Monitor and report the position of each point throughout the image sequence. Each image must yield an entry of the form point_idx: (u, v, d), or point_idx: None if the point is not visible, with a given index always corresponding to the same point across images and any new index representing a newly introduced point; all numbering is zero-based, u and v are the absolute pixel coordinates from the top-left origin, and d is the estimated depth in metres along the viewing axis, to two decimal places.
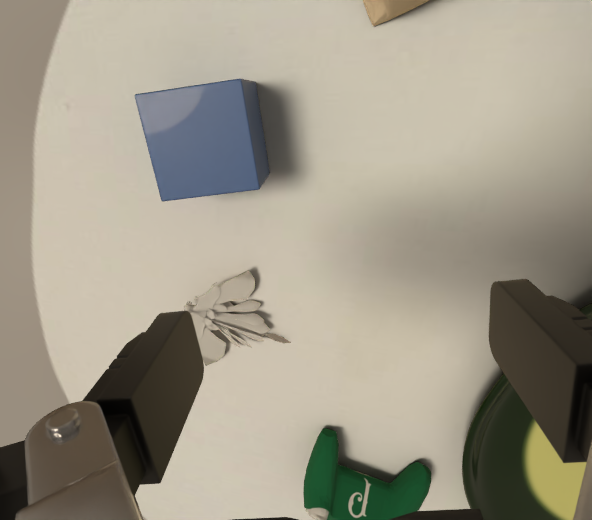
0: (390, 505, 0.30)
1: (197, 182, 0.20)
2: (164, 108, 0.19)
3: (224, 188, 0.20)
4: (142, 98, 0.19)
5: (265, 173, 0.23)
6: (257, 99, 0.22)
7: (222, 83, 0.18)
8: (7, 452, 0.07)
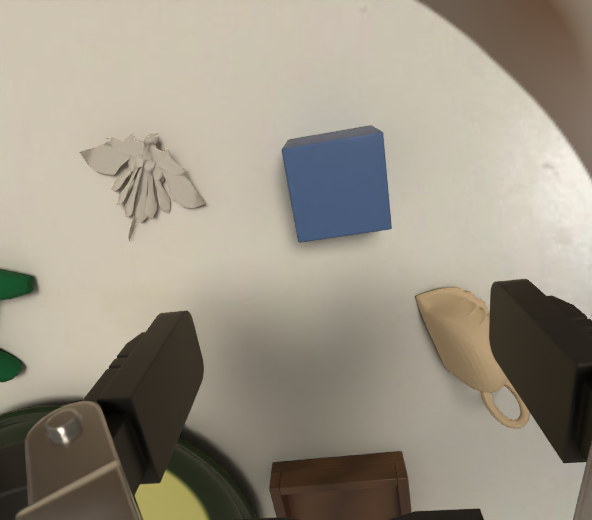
0: None
1: (302, 186, 0.21)
2: (369, 159, 0.20)
3: (297, 211, 0.22)
4: (379, 139, 0.20)
5: None
6: None
7: (388, 214, 0.21)
8: (7, 452, 0.07)
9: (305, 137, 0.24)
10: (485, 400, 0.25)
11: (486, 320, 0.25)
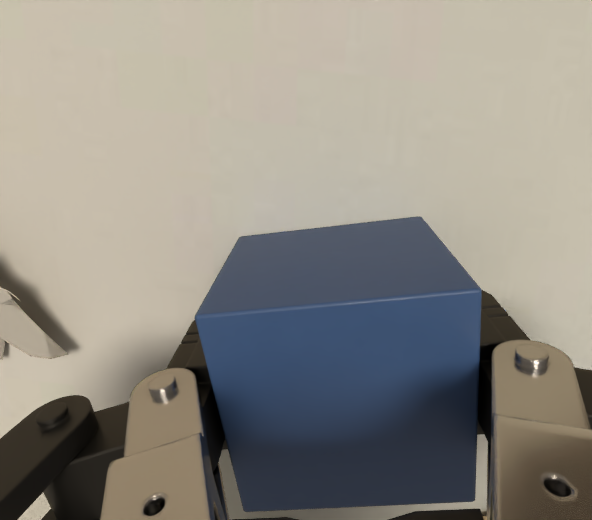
0: None
1: (253, 404, 0.08)
2: (436, 355, 0.07)
3: (240, 454, 0.09)
4: (469, 309, 0.07)
5: None
6: None
7: (472, 473, 0.08)
8: (107, 415, 0.08)
9: (275, 238, 0.11)
10: None
11: None
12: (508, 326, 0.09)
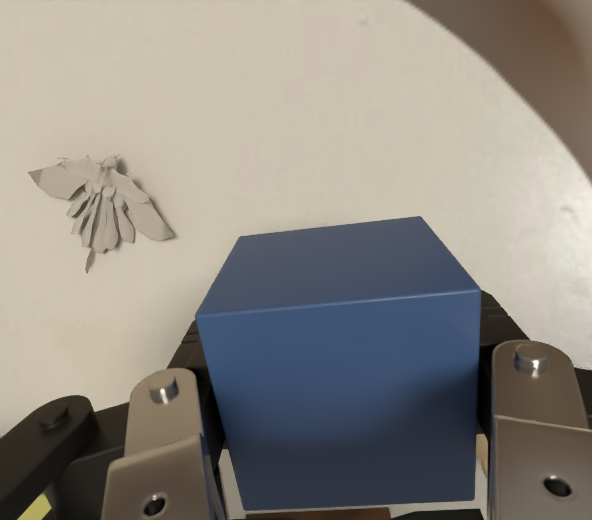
0: None
1: (253, 403, 0.08)
2: (435, 354, 0.07)
3: (240, 453, 0.09)
4: (469, 308, 0.07)
5: None
6: None
7: (472, 472, 0.08)
8: (107, 414, 0.08)
9: (274, 238, 0.11)
10: (485, 471, 0.22)
11: None
12: (508, 326, 0.09)
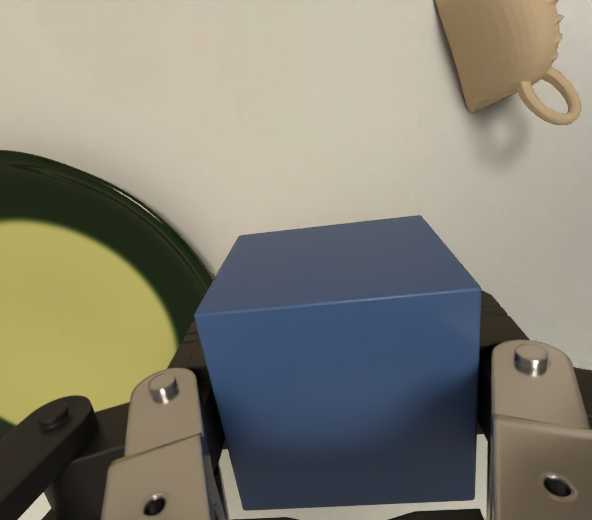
0: None
1: (252, 402, 0.08)
2: (435, 353, 0.07)
3: (240, 452, 0.09)
4: (469, 307, 0.07)
5: None
6: None
7: (472, 472, 0.08)
8: (107, 414, 0.08)
9: (274, 237, 0.11)
10: (522, 91, 0.20)
11: None
12: (508, 326, 0.09)
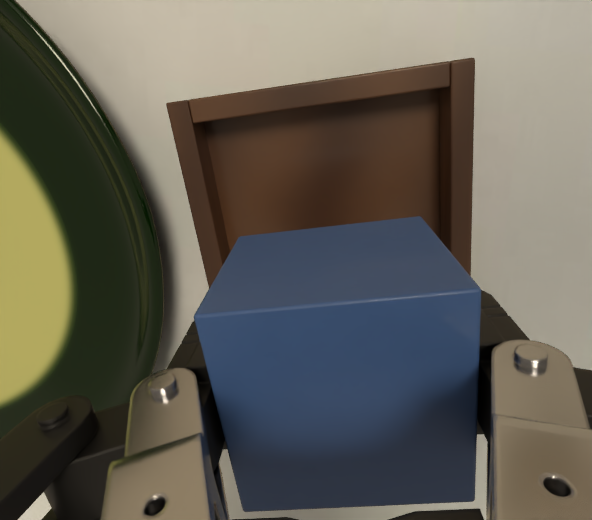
0: None
1: (252, 404, 0.08)
2: (435, 354, 0.07)
3: (240, 454, 0.09)
4: (469, 308, 0.07)
5: None
6: None
7: (472, 473, 0.08)
8: (107, 414, 0.08)
9: (274, 238, 0.11)
10: None
11: None
12: (507, 326, 0.09)
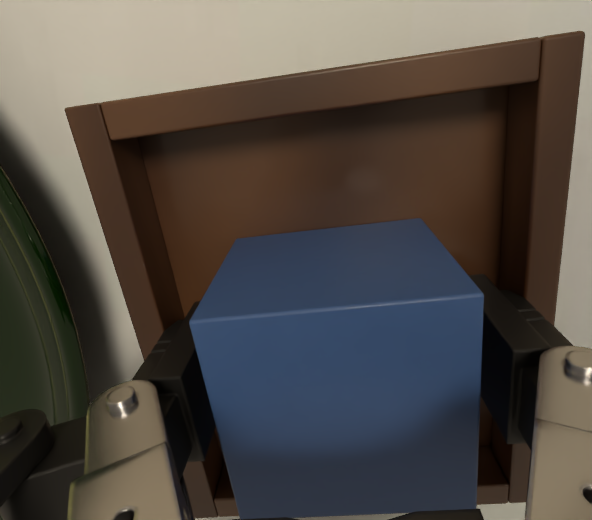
0: None
1: (249, 411, 0.08)
2: (436, 361, 0.07)
3: (236, 462, 0.08)
4: (471, 314, 0.07)
5: None
6: None
7: (474, 481, 0.08)
8: (66, 428, 0.08)
9: (272, 240, 0.11)
10: None
11: None
12: (547, 331, 0.09)
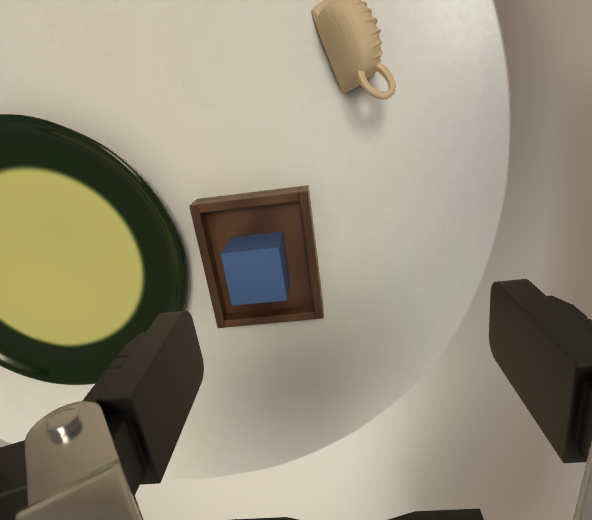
0: None
1: (233, 274, 0.36)
2: (271, 262, 0.35)
3: (230, 288, 0.36)
4: (276, 251, 0.35)
5: None
6: None
7: (284, 292, 0.36)
8: (7, 452, 0.07)
9: (241, 237, 0.39)
10: (358, 77, 0.30)
11: (358, 0, 0.29)
12: None
